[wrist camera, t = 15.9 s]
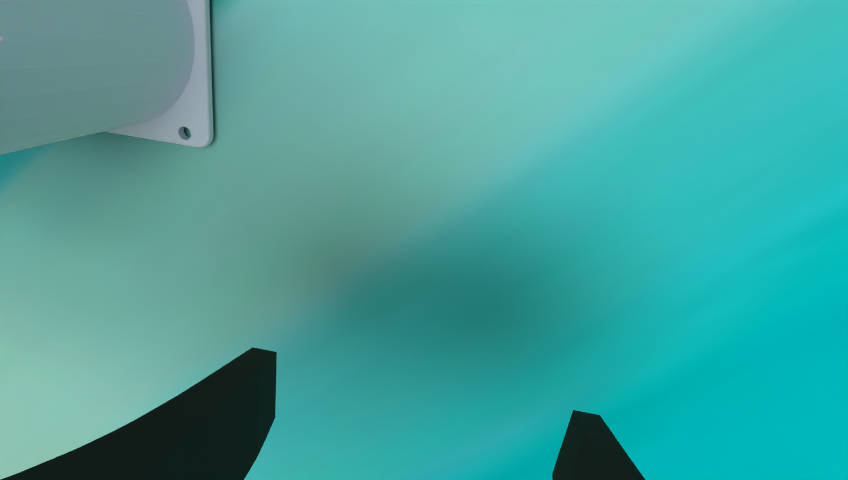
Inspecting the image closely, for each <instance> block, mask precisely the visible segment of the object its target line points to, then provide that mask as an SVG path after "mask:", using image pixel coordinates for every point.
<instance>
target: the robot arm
mask: <svg viewBox="0 0 848 480" xmlns="http://www.w3.org/2000/svg"><path fill="white" fill-rule="evenodd" d="M184 127H187V128H188V129H189V130H190V133H191V137H190V138H189V137H187V136H186V135H185V133H184ZM99 132H110V133H116V134H121V135H127V136H133V137H139V138H145V139H151V140H157V141H162V142H168V143H174V144H180V145H186V146H192V147H197V148H200V147H205V146H207V145H209V144H211V142H212V141H213V105H212V72H211V39H210V6H209V0H0V155H2V154H7V153H11V152H15V151H20V150H24V149H29V148H33V147H38V146H42V145H46V144H51V143H55V142H60V141H64V140H68V139H73V138H77V137H82V136H86V135H90V134H95V133H99ZM276 354H277V352H273V351H268V350H263V349H258V348H251V349H249V350H248V351H246V352H245V353H243V354H242V355H240V356H239V357H237V358H235V359H234V360H232V361H231V362H229V363H228V364H226V365H225V366H223V367H222V368H220V369H219V370H217V371H216V372H214V373H212V374H211V375H209V376H208V377H206V378H205V379H203V380H202V381H200V382H198V383H197V384H195V385H194V386H192V387H190V388H189V389H187V390H186V391H184V392H183V393H181V394H179V395H178V396H176V397H174V398H173V399H171V400H169V401H167V402H166V403H164V404H162V405H160V406H159V407H157V408H155V409H153V410H152V411H150V412H148V413H147V414H145V415H143V416H141V417H140V418H138V419H136V420H134V421H132V422H130V423H128V424H127V425H125V426H123V427H121V428H119V429H117V430H115V431H113V432H111V433H109V434H107V435H105V436H103V437H101V438H98V439H96V440H94V441H92V442H90V443H88V444H86V445H84V446H82V447H79V448H77V449H75V450H73V451H70V452H68V453H66V454H63V455H61V456H58V457H56V458H54V459H51V460H49V461H46V462H44V463H42V464H39V465H37V466H34V467H32V468H30V469H27V470H25V471H22V472H20V473H17V474H15V475H12V476H9V477H7V478H4V479H1V480H244V479H245V477H246V475H247V474H248V472H249V470H250V468H251V467H252V465H253V463H254V462H255V460H256V458H257V456H258V454H259V452H260V450H261V448H262V446H263V444H264V441H265V439H266V437H267V435H268V432H269V430H270V428H271V426H272V423H273V421H274V419H275V399H276ZM552 478H553V480H645V478H644V477H643V476H642V474H641V473H640V472H639V470H638V469H637V467H636V466H635V465H634V463H633V462H632V461H631V459H630V458H629V456H628V455H627V453H626V452H625V451H624V449H623V448H622V446H621V445H620V444H619V442H618V441H617V439H616V438H615V436H614V435H613V433H612V432H611V431H610V429H609V428H608V426H607V425H606V423H605V422H604V421H603V419H602V418H601V416H600V415H596V414H591V413H585V412H580V411H575V410H573V413H572V416H571V419H570V422H569V425H568V428H567V431H566V434H565V437H564V440H563V443H562V446H561V449H560V452H559V455H558V458H557V461H556V464H555V467H554V470H553V473H552Z"/></svg>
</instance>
